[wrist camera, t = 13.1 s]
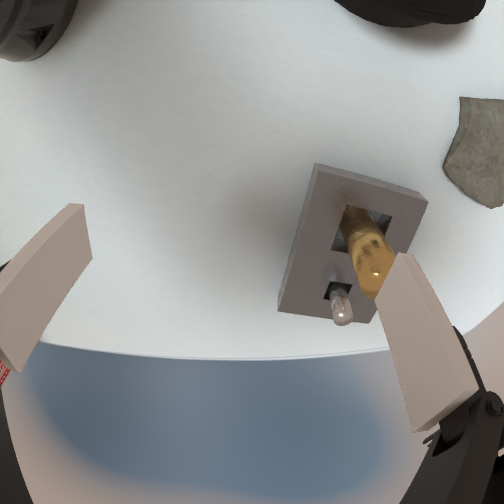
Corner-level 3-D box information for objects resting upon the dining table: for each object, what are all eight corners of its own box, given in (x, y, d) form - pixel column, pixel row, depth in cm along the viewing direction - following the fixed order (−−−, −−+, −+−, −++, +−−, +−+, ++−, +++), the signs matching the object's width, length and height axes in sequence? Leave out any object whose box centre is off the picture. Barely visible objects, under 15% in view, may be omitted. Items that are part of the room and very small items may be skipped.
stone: (540, 103, 19) (541, 205, 25) (517, 100, 24) (520, 194, 30) (456, 93, 21) (462, 225, 27) (432, 94, 25) (441, 211, 32)
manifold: (314, 163, 31) (325, 187, 25) (418, 192, 32) (447, 221, 25) (277, 296, 42) (277, 338, 36) (364, 309, 43) (375, 349, 36)
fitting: (344, 202, 34) (371, 258, 24) (376, 210, 34) (412, 266, 24) (334, 233, 36) (353, 296, 26) (365, 240, 36) (392, 302, 26)
